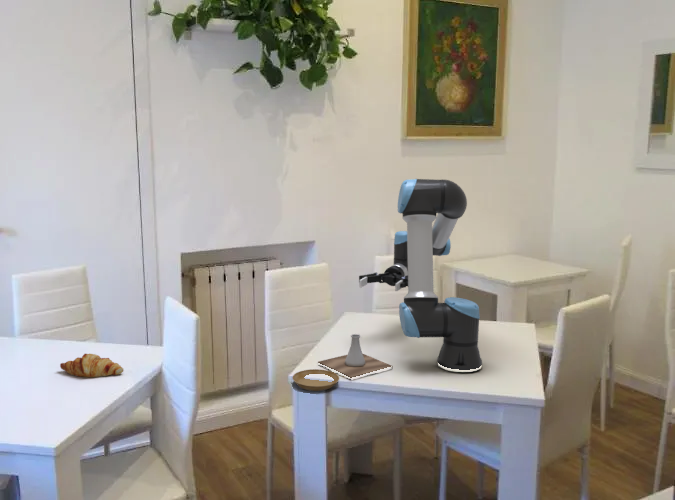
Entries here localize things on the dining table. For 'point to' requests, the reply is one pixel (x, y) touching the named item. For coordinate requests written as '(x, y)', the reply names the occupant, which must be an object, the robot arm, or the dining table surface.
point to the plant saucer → (314, 384)
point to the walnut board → (353, 371)
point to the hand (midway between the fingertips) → (378, 285)
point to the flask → (355, 353)
